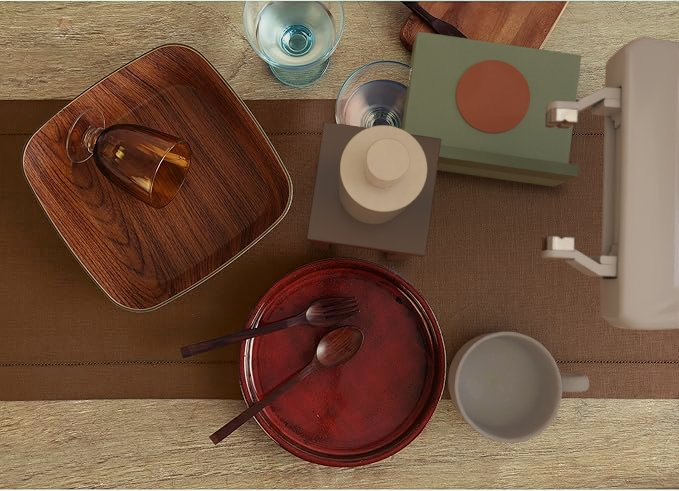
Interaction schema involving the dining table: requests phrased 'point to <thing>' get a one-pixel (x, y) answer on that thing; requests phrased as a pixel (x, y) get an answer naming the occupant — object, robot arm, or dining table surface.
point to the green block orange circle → (492, 107)
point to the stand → (342, 229)
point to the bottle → (380, 174)
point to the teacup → (509, 386)
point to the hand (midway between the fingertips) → (545, 180)
